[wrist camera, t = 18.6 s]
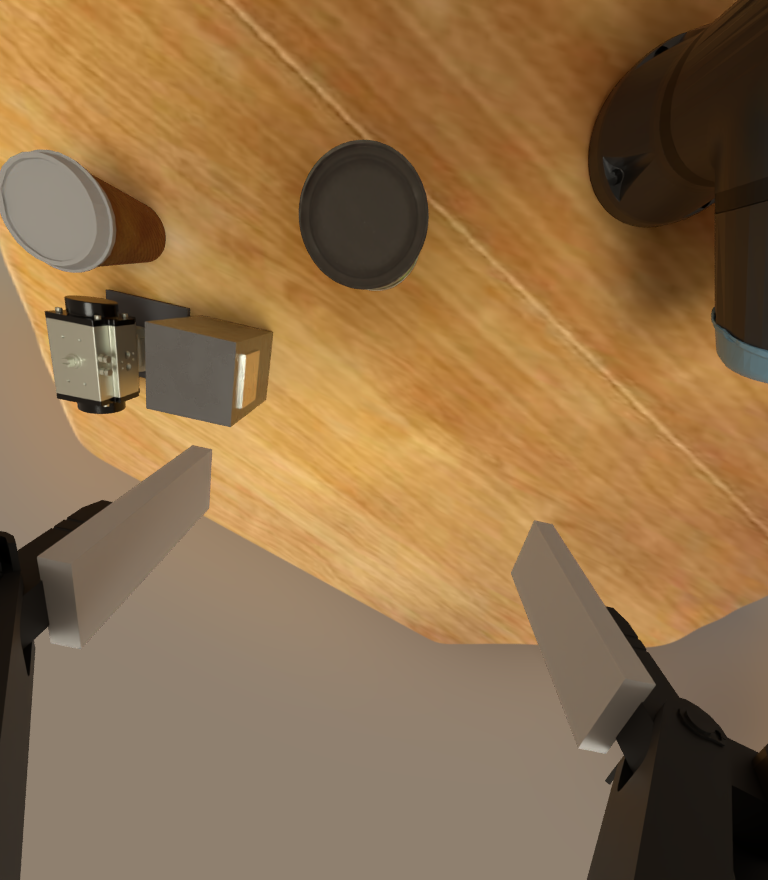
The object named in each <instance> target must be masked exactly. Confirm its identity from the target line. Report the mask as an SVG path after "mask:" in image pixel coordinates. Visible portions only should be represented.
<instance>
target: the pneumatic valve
mask: <svg viewBox="0 0 768 880" xmlns="http://www.w3.org/2000/svg"><path fill="white" fill-rule="evenodd" d="M64 298H65V306H66V310H63V309H62V308H60V307H55V311H45V316H46V323H47V330H48V337H49V344H50V351H51V358H52V365H53V372H54V379H55V386H56V393H57V398H58V399H63V400H68V401H73V402H77V404H78V409H79V410H81V411H83V412H87V413H93V414H109V413H115V412H119V411H122V410H124V409H125V407H126V404H125V401H127V400H130V399H132V398H135V397H137V396H139V393H140V388H139V372H143V371H146V363H145V328H144V327H141V326H136V317H133V316H128V314H126V313H122V314H119V308H118V303H117V302H115V301H112V300H108V299H103V298H96V297H88V296H65V297H64Z"/></svg>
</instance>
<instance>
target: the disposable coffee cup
mask: <svg viewBox="0 0 768 880" xmlns="http://www.w3.org/2000/svg"><path fill="white" fill-rule="evenodd" d="M0 214H1V216H2V218H3V221H4V223H5V225H6V227H7V228H8V230H9V232H10V233H11V234H12V236H13V237H14V239H15V240H16V241H17V243H19V244H20V245H21V246H22V247H23V248H24V249H25V250H26V251H27V252H28V253H30V254H31V255H33V256H34V257H35V258H37V259H39V260H41V261H43V262H45V263H47V264H48V265H50V266H52V267H54V268H56V269H59V270H62V271H66V272H85V271H90V270H92V269H94V268H96V267H99V266H109V265H121V264H132V263H142V262H151V261H153V260H155V259H157V258H158V257H159V256H160V255H161V253H162V252H163V249H164V247H165V231H164V227H163V225H162V222H161V220H160V219H159V217H158V216H157V214H156V213H155V212H154V211H153V210H152V209H151V208H150V207H148V206H147V205H145V204H143V203H141V202H140V201H138V200H136V199H134V198H132V197H131V196H129V195H127V194H125V193H124V192H122V191H120V190H118V189H116V188H115V187H113V186H111V185H109V184H108V183H106V182H104V181H102V180H100V179H99V178H97V177H95V176H93V175H91V174H90V173H89V172H88V171H87V170H86V169H85V168H84V167H82V166H81V165H80V164H79V163H78V162H76V161H75V160H73V159H71V158H69V157H67V156H65V155H63V154H61V153H59V152H55V151H51V150H35V151H31V152H21V153H19V154H17V155H15V156H13V157H10V158H9V160H8V161H7V162H6V163H5V164H4V165H3V166H2V169H1V171H0Z"/></svg>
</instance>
